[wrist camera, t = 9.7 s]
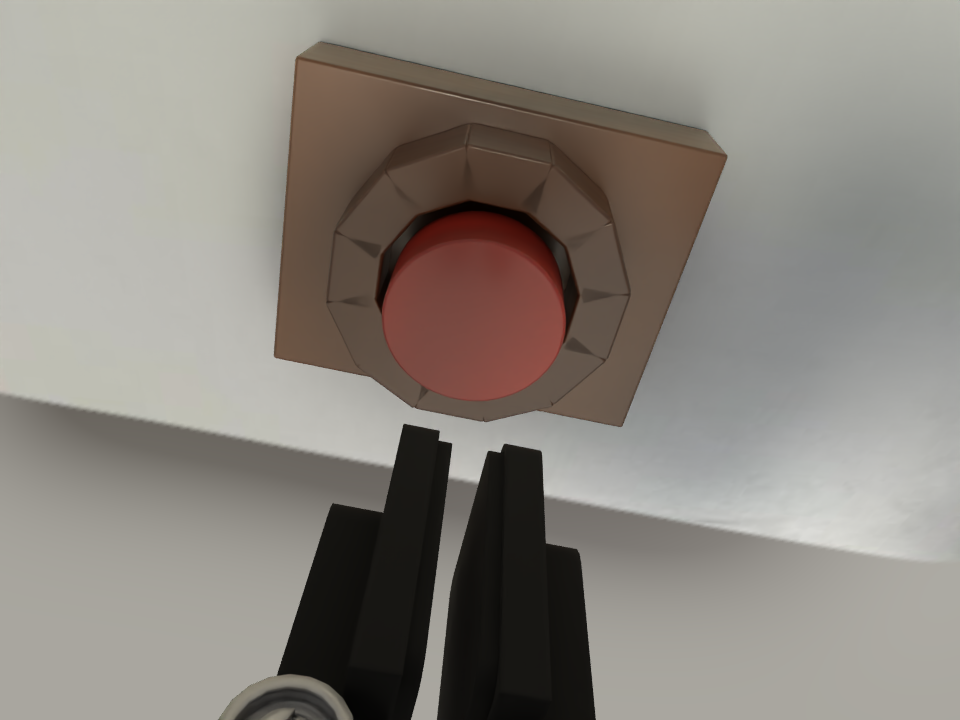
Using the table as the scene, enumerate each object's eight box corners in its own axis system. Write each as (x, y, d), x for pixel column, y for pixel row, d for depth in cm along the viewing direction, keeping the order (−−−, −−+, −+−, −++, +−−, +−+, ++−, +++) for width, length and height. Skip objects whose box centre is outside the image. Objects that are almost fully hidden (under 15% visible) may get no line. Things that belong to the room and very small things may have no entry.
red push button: (582, 230, 17) (588, 262, 15) (538, 376, 19) (539, 417, 17) (406, 192, 16) (395, 221, 15) (382, 344, 18) (370, 383, 17)
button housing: (708, 130, 19) (750, 180, 15) (614, 386, 23) (630, 469, 19) (318, 40, 18) (271, 70, 15) (293, 320, 22) (252, 395, 19)
